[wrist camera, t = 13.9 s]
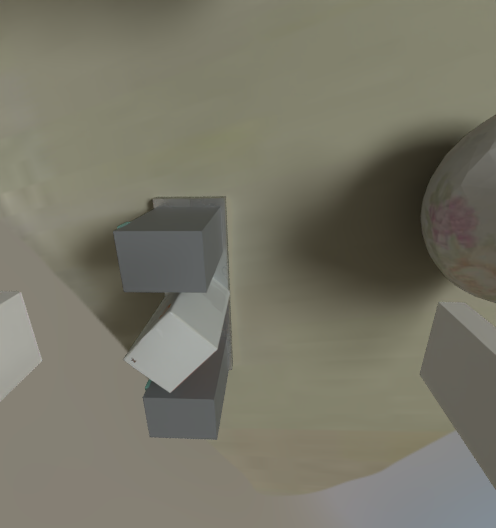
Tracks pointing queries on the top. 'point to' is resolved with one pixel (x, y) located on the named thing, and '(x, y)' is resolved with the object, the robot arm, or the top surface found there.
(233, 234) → the top surface
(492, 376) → the robot arm
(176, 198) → the rail plate
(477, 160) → the ceramic pitcher
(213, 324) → the small box
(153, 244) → the block
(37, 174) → the top surface
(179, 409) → the block
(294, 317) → the top surface
